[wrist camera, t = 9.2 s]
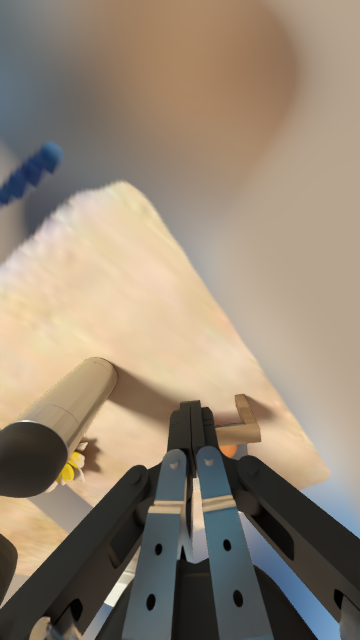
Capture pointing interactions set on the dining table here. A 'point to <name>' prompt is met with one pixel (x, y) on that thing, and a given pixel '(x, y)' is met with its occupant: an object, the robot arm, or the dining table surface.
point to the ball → (228, 450)
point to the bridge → (240, 427)
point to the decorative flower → (71, 468)
